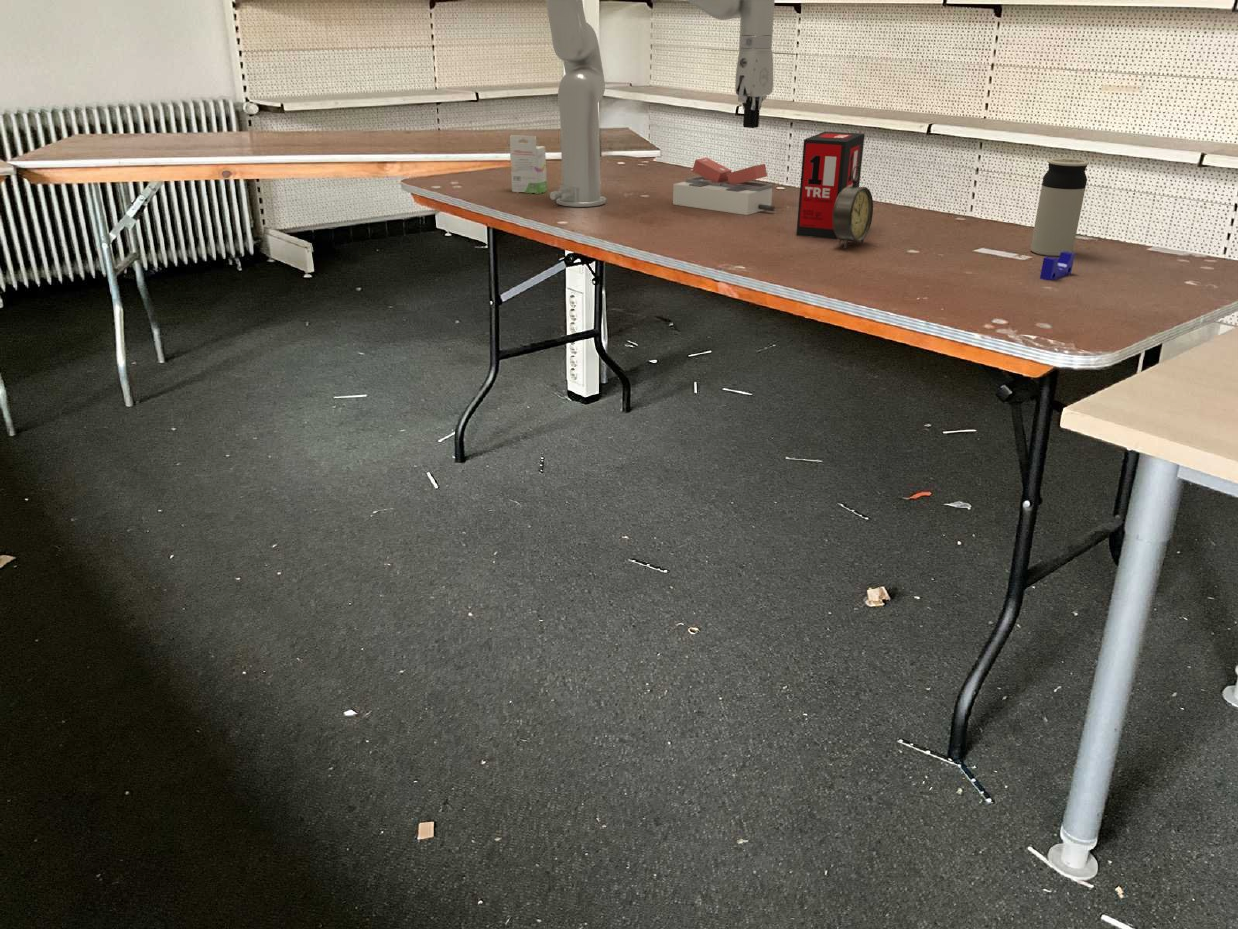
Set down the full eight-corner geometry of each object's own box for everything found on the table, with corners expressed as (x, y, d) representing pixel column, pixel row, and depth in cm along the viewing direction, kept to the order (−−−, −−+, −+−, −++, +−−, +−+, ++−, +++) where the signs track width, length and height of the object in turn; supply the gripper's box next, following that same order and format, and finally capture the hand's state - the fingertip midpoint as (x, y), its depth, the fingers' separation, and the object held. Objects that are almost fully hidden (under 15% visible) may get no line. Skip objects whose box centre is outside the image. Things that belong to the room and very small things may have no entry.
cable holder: (1052, 270, 184) (1056, 249, 183) (1070, 274, 182) (1075, 253, 180) (1031, 278, 180) (1035, 256, 178) (1050, 281, 177) (1054, 259, 175)
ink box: (547, 191, 262) (546, 134, 256) (538, 194, 258) (537, 136, 252) (520, 189, 266) (517, 132, 260) (510, 192, 262) (508, 134, 255)
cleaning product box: (836, 239, 209) (845, 141, 200) (796, 235, 212) (803, 139, 204) (855, 225, 222) (864, 133, 214) (817, 221, 226) (824, 131, 217)
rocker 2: (756, 178, 234) (753, 165, 233) (729, 185, 239) (726, 173, 238) (767, 176, 237) (764, 163, 236) (740, 183, 243) (737, 170, 242)
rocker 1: (716, 184, 241) (720, 172, 239) (692, 170, 244) (695, 159, 243) (727, 181, 245) (731, 170, 243) (703, 168, 248) (707, 157, 246)
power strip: (761, 217, 231) (763, 191, 228) (673, 204, 245) (673, 180, 243) (785, 210, 238) (786, 185, 236) (697, 198, 253) (698, 175, 251)
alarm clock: (848, 251, 198) (857, 169, 191) (824, 248, 201) (832, 166, 194) (871, 242, 206) (880, 162, 199) (847, 239, 209) (855, 160, 202)
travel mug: (1076, 257, 193) (1095, 163, 186) (1034, 256, 194) (1051, 162, 187) (1066, 249, 200) (1084, 158, 193) (1026, 247, 202) (1042, 157, 194)
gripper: (752, 44, 218) (747, 131, 225) (786, 43, 228) (780, 125, 236) (723, 44, 222) (720, 128, 230) (758, 42, 233) (754, 123, 240)
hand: (750, 126), depth 233 cm, fingers closed
